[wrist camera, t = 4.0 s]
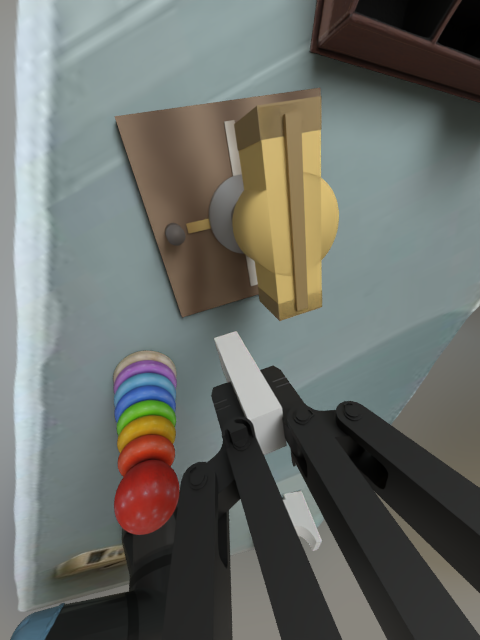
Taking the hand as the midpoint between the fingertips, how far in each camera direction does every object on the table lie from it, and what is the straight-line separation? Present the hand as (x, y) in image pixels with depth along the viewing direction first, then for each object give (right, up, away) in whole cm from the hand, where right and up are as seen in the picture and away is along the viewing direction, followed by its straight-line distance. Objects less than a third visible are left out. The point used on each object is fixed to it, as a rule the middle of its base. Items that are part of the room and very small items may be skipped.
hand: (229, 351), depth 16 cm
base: (+1, +14, +12) cm, 19 cm away
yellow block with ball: (+3, +11, +5) cm, 12 cm away
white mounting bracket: (+10, -49, +49) cm, 71 cm away
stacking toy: (-12, -5, +18) cm, 22 cm away
